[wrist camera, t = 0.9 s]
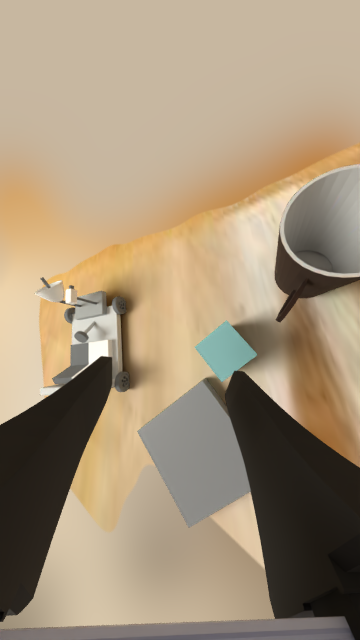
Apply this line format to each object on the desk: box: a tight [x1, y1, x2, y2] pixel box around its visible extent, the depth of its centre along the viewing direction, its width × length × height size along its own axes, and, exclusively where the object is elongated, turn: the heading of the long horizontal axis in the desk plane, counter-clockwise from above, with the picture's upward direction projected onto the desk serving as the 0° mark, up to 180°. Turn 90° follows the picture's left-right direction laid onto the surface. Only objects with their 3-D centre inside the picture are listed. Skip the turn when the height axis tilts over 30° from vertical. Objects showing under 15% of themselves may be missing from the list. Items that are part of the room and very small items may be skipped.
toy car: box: [35, 278, 130, 395], centre depth 27 cm, size 18×10×12 cm
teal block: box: [195, 320, 257, 382], centre depth 21 cm, size 4×4×6 cm
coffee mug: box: [275, 164, 360, 322], centre depth 17 cm, size 12×9×10 cm
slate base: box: [137, 378, 251, 527], centre depth 23 cm, size 12×12×2 cm
